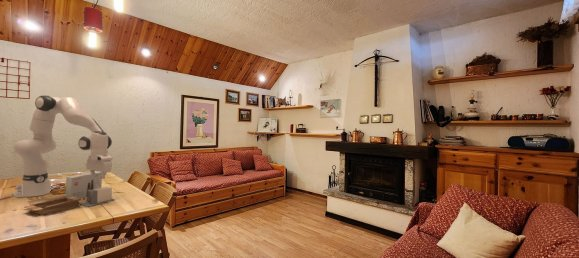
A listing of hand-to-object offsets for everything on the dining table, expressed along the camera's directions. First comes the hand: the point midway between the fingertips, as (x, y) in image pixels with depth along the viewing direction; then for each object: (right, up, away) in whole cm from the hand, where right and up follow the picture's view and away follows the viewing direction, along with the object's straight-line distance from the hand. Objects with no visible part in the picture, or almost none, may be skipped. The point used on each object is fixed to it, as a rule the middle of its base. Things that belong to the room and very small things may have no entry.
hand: (98, 177), depth 160 cm
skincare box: (-18, -16, +11) cm, 26 cm away
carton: (-15, -16, -13) cm, 26 cm away
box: (0, -16, +1) cm, 16 cm away
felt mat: (0, -16, +1) cm, 16 cm away
